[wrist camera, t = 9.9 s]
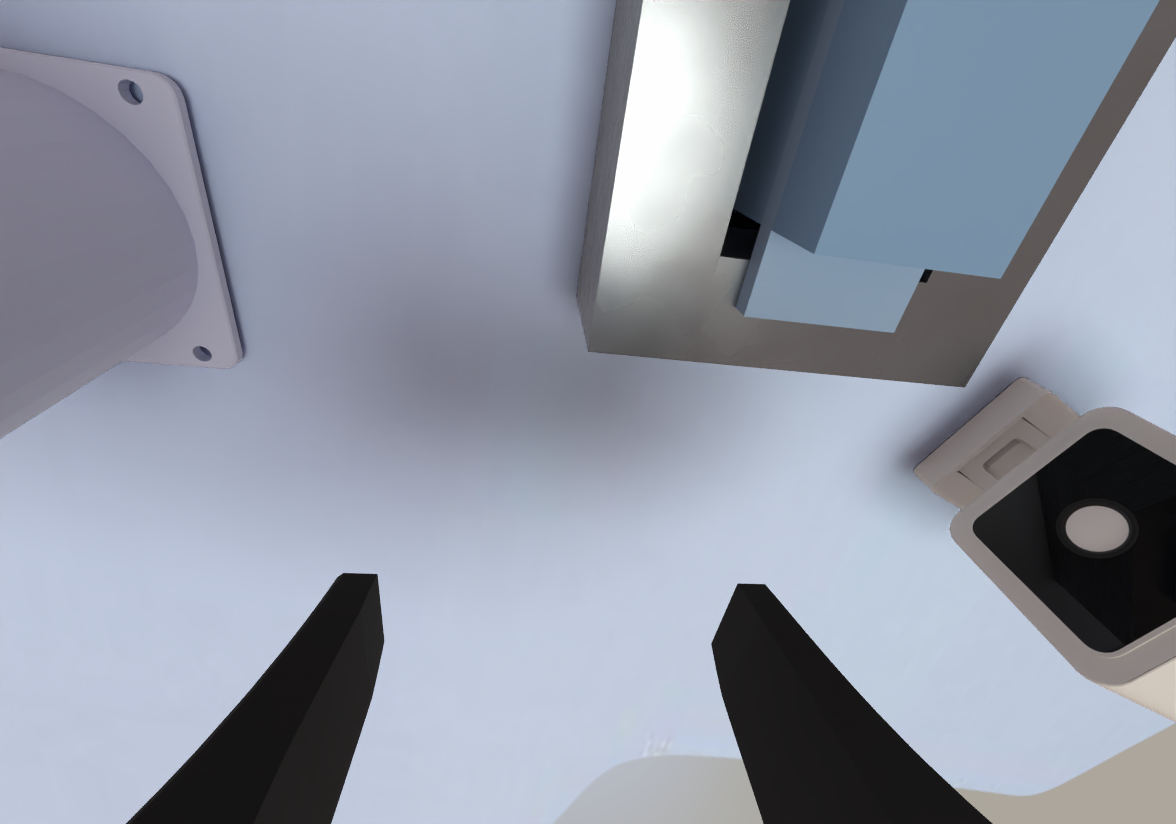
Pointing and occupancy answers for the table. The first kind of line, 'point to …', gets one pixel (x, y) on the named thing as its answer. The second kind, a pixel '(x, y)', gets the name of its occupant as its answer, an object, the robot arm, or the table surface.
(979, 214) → the block
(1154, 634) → the security camera
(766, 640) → the robot arm
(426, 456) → the table surface
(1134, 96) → the frame
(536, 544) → the table surface
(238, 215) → the table surface
